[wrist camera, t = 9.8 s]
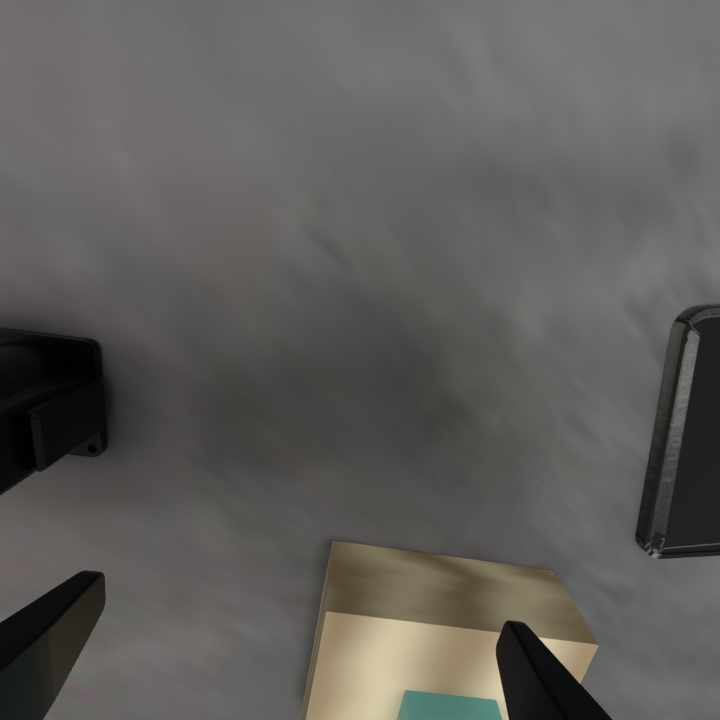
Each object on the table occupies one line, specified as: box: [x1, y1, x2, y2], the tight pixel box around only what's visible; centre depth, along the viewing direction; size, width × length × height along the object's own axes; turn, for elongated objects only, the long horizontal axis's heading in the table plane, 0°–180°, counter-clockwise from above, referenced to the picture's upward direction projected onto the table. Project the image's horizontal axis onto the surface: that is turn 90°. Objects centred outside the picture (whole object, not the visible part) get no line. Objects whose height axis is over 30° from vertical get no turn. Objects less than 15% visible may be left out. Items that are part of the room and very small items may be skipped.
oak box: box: [301, 540, 599, 720], centre depth 23 cm, size 14×14×5 cm
